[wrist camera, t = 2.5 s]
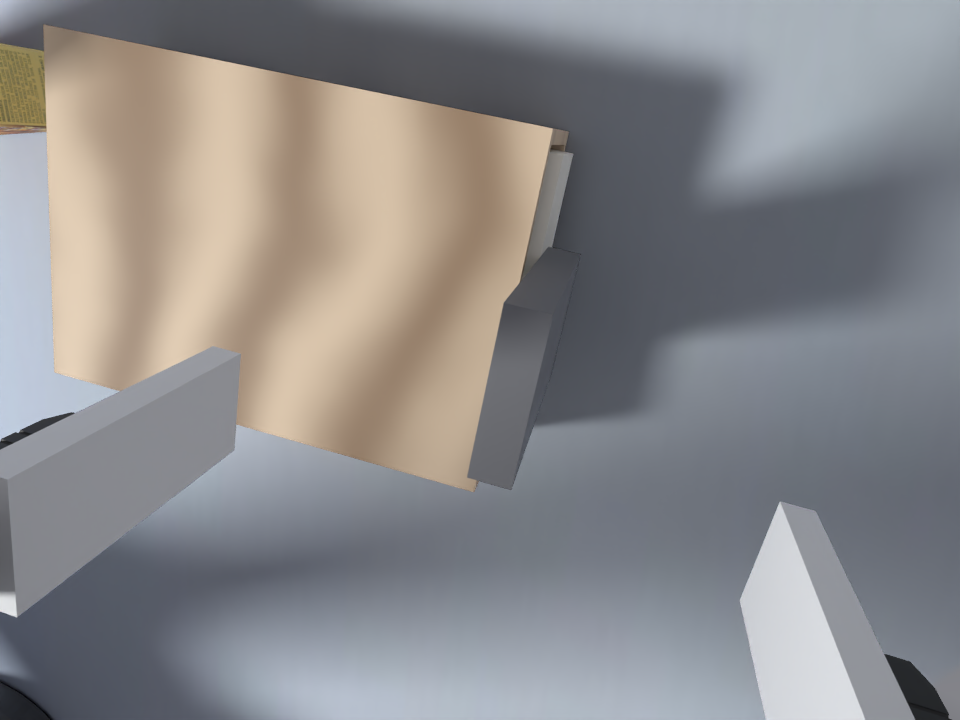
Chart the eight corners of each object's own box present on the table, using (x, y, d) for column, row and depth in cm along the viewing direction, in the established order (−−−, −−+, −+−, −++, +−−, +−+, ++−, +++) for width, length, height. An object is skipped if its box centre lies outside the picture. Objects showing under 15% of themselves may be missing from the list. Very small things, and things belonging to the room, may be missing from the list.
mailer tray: (176, 335, 39) (-46, 428, 26) (185, 72, 34) (-82, 29, 21) (538, 432, 36) (486, 592, 23) (605, 160, 31) (587, 172, 18)
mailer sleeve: (148, 334, 40) (54, 372, 34) (153, 46, 35) (43, 24, 28) (501, 431, 37) (474, 492, 31) (569, 131, 32) (552, 128, 25)
